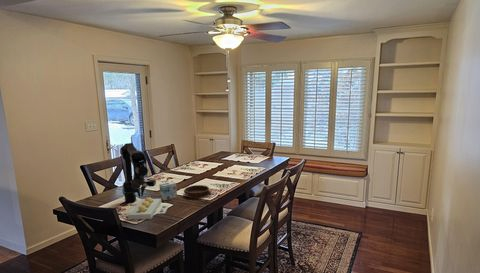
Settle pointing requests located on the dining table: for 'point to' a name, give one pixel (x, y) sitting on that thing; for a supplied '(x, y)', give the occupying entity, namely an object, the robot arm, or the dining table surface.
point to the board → (148, 213)
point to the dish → (197, 191)
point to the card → (162, 210)
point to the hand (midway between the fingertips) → (140, 196)
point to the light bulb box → (168, 190)
